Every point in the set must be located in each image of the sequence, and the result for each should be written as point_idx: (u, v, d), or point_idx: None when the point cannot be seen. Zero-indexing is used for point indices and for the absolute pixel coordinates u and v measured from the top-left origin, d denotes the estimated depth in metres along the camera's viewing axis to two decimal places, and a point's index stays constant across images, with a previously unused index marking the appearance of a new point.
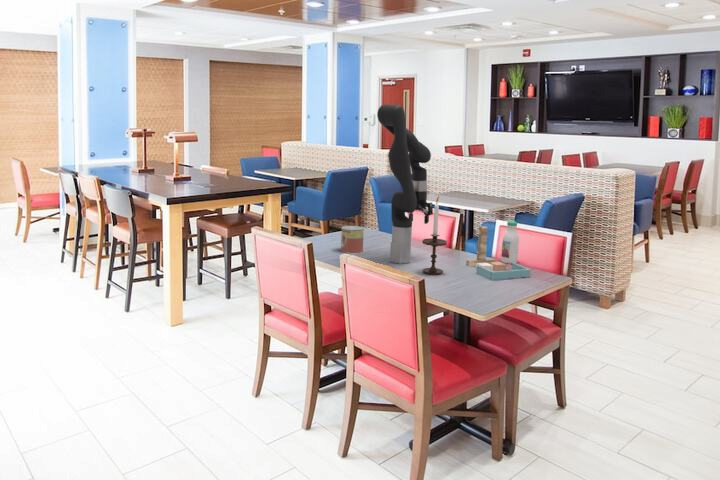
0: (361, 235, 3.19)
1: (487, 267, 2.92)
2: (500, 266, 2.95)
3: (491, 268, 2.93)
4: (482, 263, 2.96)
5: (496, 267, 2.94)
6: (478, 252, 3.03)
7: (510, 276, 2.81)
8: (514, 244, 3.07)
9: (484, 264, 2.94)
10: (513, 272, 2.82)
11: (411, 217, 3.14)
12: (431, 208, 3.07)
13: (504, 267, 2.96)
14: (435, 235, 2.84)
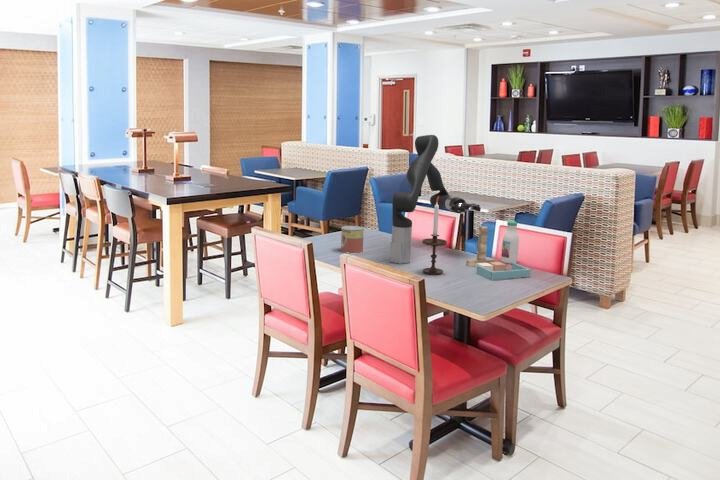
0: (361, 235, 3.19)
1: (487, 267, 2.92)
2: (500, 266, 2.95)
3: (491, 268, 2.93)
4: (482, 263, 2.96)
5: (496, 267, 2.94)
6: (478, 252, 3.03)
7: (510, 276, 2.81)
8: (514, 244, 3.07)
9: (484, 264, 2.95)
10: (513, 272, 2.82)
11: None
12: None
13: (504, 267, 2.96)
14: (435, 235, 2.84)
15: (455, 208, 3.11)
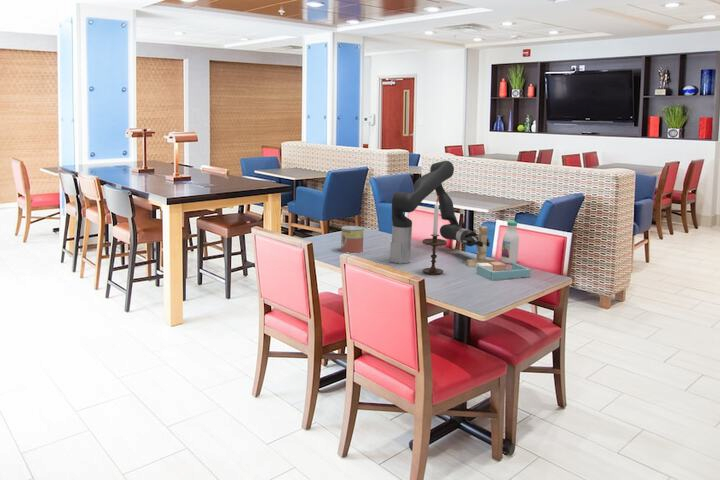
0: (361, 235, 3.19)
1: (487, 267, 2.92)
2: (499, 266, 2.95)
3: (491, 268, 2.93)
4: (482, 263, 2.96)
5: (495, 267, 2.94)
6: (478, 252, 3.03)
7: (510, 276, 2.81)
8: (514, 244, 3.07)
9: (484, 264, 2.95)
10: (513, 272, 2.82)
11: None
12: None
13: (504, 267, 2.96)
14: (435, 235, 2.84)
15: (473, 242, 3.02)
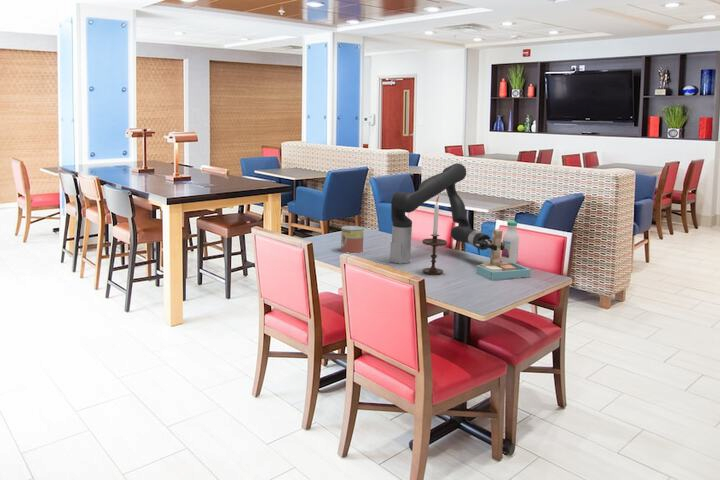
0: (361, 235, 3.19)
1: (496, 270, 2.86)
2: (510, 269, 2.89)
3: None
4: (491, 266, 2.90)
5: (506, 270, 2.89)
6: (492, 256, 2.93)
7: (510, 276, 2.81)
8: (514, 244, 3.07)
9: (493, 267, 2.89)
10: (513, 272, 2.82)
11: None
12: None
13: None
14: (435, 235, 2.84)
15: (486, 246, 2.92)
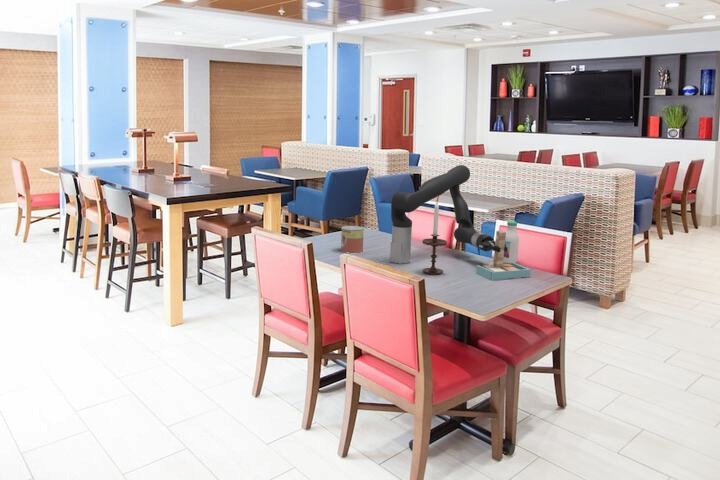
0: (361, 235, 3.19)
1: None
2: None
3: None
4: (494, 268, 2.88)
5: None
6: (495, 257, 2.90)
7: (510, 276, 2.81)
8: (514, 244, 3.07)
9: (496, 269, 2.86)
10: (513, 272, 2.82)
11: None
12: None
13: None
14: (435, 235, 2.84)
15: (489, 247, 2.89)
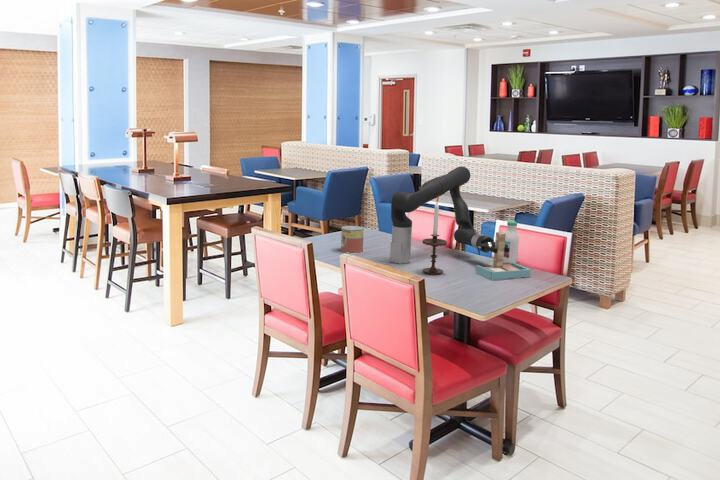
0: (361, 235, 3.19)
1: None
2: None
3: None
4: (494, 268, 2.88)
5: None
6: (495, 259, 2.90)
7: (510, 276, 2.81)
8: (514, 244, 3.07)
9: (496, 269, 2.86)
10: (513, 272, 2.82)
11: None
12: None
13: None
14: (435, 235, 2.84)
15: (486, 248, 2.89)
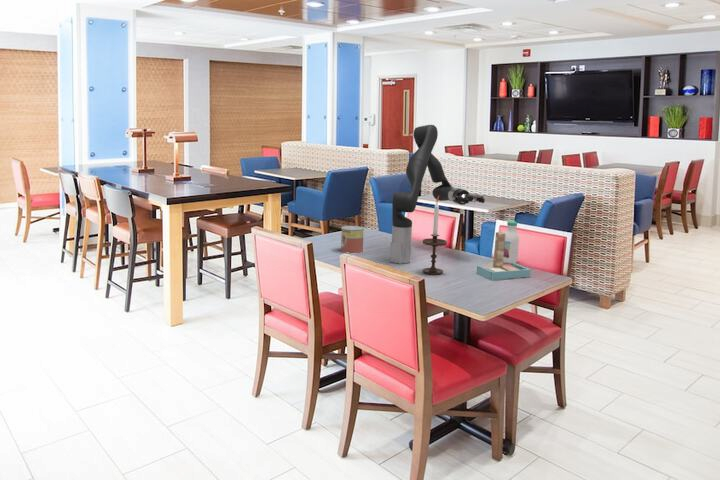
0: (361, 235, 3.19)
1: None
2: None
3: None
4: (494, 268, 2.88)
5: None
6: (495, 259, 2.90)
7: (510, 276, 2.81)
8: (514, 244, 3.07)
9: (497, 269, 2.86)
10: (513, 272, 2.82)
11: None
12: None
13: None
14: (435, 235, 2.84)
15: (458, 199, 3.04)
